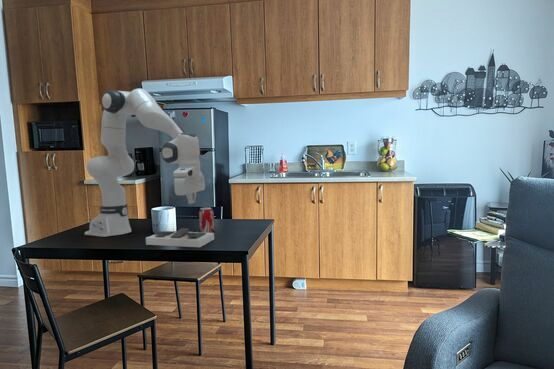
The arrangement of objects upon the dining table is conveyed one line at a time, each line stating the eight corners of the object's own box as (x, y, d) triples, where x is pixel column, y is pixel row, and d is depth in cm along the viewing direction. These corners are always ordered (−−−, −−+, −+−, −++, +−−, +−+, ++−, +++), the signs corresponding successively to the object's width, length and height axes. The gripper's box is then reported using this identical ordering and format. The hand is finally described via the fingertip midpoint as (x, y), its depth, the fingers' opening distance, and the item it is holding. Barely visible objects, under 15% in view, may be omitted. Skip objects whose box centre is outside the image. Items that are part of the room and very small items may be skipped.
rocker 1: (155, 235, 166) (155, 231, 166) (166, 234, 175) (166, 231, 175) (162, 235, 165) (163, 231, 165) (173, 235, 174) (174, 231, 174)
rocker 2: (187, 236, 162) (187, 232, 162) (197, 236, 170) (197, 232, 171) (195, 236, 161) (195, 233, 161) (205, 236, 169) (205, 232, 170)
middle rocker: (171, 239, 164) (170, 236, 164) (181, 231, 173) (180, 228, 172) (179, 240, 163) (178, 237, 163) (189, 231, 172) (188, 228, 171)
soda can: (211, 233, 182) (210, 209, 181) (197, 233, 184) (196, 209, 183) (216, 230, 189) (215, 207, 188) (203, 230, 191) (202, 207, 189)
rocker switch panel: (146, 244, 165) (145, 237, 165) (164, 237, 178) (163, 230, 178) (199, 247, 158) (199, 240, 158) (214, 239, 171) (213, 232, 171)
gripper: (195, 169, 171) (196, 199, 172) (170, 173, 151) (172, 206, 152) (207, 169, 169) (209, 199, 170) (184, 172, 149) (186, 207, 151)
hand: (191, 203), depth 161 cm, fingers closed
